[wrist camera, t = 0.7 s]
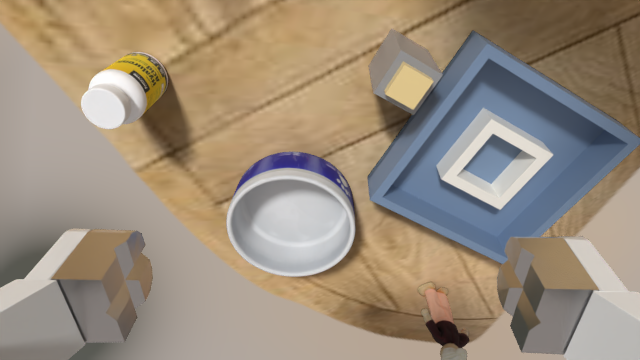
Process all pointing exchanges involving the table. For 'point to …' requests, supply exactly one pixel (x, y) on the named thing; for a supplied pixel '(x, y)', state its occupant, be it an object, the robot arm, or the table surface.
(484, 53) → the walled tray
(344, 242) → the dog bowl
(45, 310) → the robot arm
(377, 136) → the table surface
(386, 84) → the connector plug
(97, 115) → the supplement bottle
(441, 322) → the grandmother figurine
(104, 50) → the table surface
